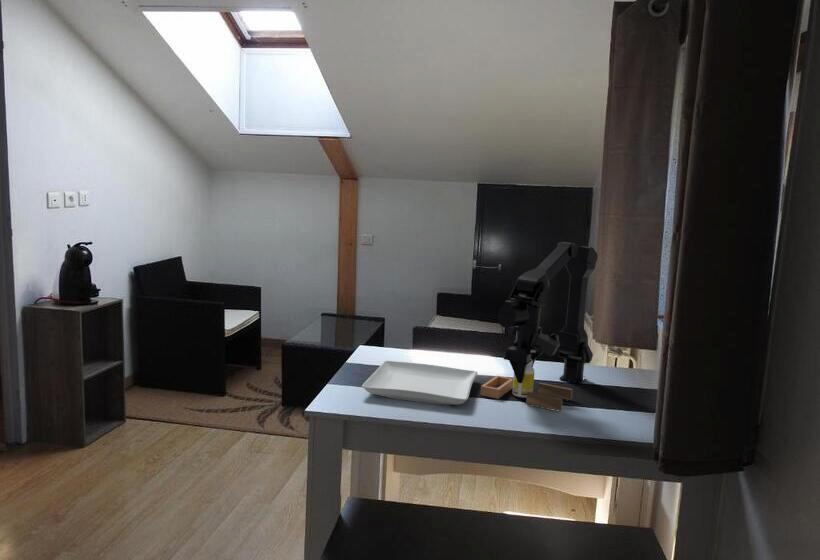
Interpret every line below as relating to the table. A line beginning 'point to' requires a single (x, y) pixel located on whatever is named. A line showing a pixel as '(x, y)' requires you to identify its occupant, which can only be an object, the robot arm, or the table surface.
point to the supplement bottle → (524, 382)
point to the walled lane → (547, 400)
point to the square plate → (421, 382)
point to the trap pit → (497, 387)
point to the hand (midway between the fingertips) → (523, 380)
